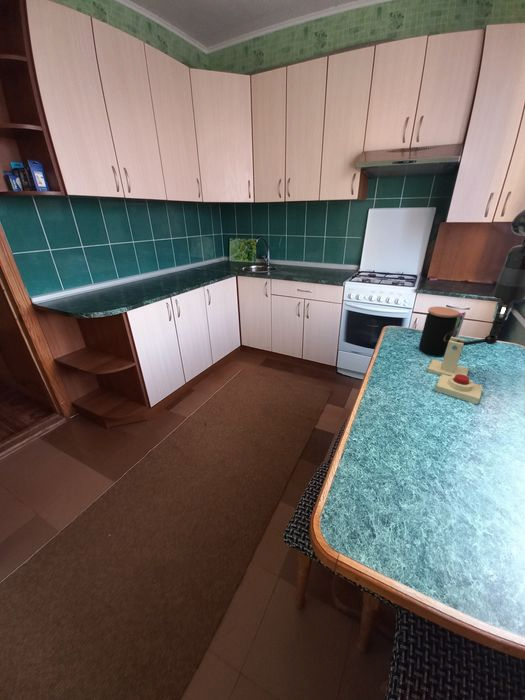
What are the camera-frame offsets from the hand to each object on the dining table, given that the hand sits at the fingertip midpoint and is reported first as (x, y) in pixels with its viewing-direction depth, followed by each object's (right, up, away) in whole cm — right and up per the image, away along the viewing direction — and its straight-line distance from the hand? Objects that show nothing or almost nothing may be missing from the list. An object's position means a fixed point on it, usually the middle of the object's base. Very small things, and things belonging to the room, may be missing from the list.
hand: (493, 335), depth 95 cm
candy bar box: (+2, -3, +32) cm, 32 cm away
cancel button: (-11, -15, 0) cm, 19 cm away
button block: (-10, -19, +2) cm, 21 cm away
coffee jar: (-4, -6, +28) cm, 28 cm away
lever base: (-7, -13, +13) cm, 19 cm away
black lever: (-3, -4, +5) cm, 7 cm away
